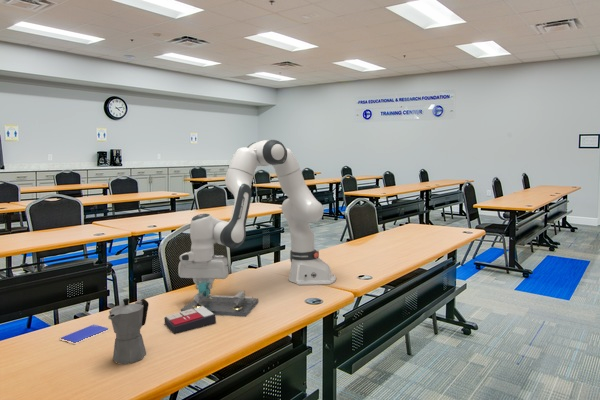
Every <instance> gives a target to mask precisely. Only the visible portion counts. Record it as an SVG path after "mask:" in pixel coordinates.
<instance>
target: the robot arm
mask: <svg viewBox="0 0 600 400" xmlns="http://www.w3.org/2000/svg"><path fill="white" fill-rule="evenodd" d="M268 166H272V167H273V169H274V172H275V174H276V177H277V179H278V180H277V181H278V183H279V185H280V188H281V191H282V192H283V194H284V195H286V196H287V198H286V199H284V200H283V202H282V204H281V213H282V214H283V216H284V217H285V219H286V222H287V226H288V231H289V234H290V250H289V251H290V252H289V261H290V269H289V270H290V271H289V275H288V281H290V282H291V283H295V284H296V285H298V286H299V285H300V286H304V285H305V286H309V285H315V286H316V285H331V284H334V283H335V282H336V279H337V277H336V275H335V274H334V273H332V270H331V267H330V264H328V263H327V262H326V261H324V260H323V259H321V258H320V252H319V250H316V249H315V233H314V231H313V229H311V226H310V223H316V222H319V221H321V220H322V218H323V215H324V207H323V204H322V203H321V202H320V201H318V199H316V197H315V196H314V195H313V193H312V192H311V190H310V188H309V187H308V185H307V184H306V181H305V178H304V175H303V173H302V171H301V167H300V166H299V162H298V160H297V158H296V157H295V154H294V153H293V151H292V149H290V148H288V147H286V146H285V145H284V144H283V143H282V142H281V141H280V140H276V139H264V140H260V141H256V142H252V143H250V144H249V145H248V146H247V147H245V146H243V147H239V148H238V149H237V150H236V151H235V152H234V154H233V156H232V158H231V161H230V162H229V165H228V168H227V170H226V173H225V178H224V183H225V187H226V188H227V189H228V191H229V192H230V193H232V195H233V198H234V204H233V207H232V208H233V209H232V212H231V216H230V219H229V220H228V221H226V220H222V219H220V218H216V217H214V216H212V215H211V214H210V213H200V214H197V215H195V216H193V217H191V220H190V224H189V225H190V226H189V227H190V229H189V231H190V232H189V233H190V235H189V236H190V241H191V246H190V250H189V251H187V252H184V253H182V254H181V255H179V260H180V261H179V263H178V267H177V268H178V269H177V271H178V277H180V278H181V279H192V280H193V281H192V282H193V283H194V285H195V289H197V290H198V284H199V282H198V279H199V278H203V279H209V281H211V282H210V284H208V285H207V289H210V290H212V289H213V283H214V281H216V280H225V279H227V278H228V276H229V267H228V262H229V259H228V258H227V257H226V256H224V255H223V254H221V255H218V254H215V252H214V251H215V249H214V248H215V247H214V246H215V244H219V245H221V246H225V247H227V248H229V249H236V248H239V247H240V246H241V245H242V244H243V243H244V242H245V239H246V236H247V235H246V234H247V233H246V232H247V231H246V230H247V228H246V226H247V221H248V215H249V211H250V206H251V201H252V200H251V199H252V195H253V194H252V182H253V178H254V175H255V173H256V169H257V168H258V167H268Z"/></svg>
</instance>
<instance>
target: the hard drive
mask: <svg viewBox="0 0 600 400" xmlns="http://www.w3.org/2000/svg"><path fill="white" fill-rule="evenodd" d="M108 329H109V327H105V326H102V325H98V324H92V325H89V326H87V327H84V328H82V329H79V330H77V331H74V332H71V333H69V334H66V335H64V336H62V337H60V338H61V339H64V340H67V341H71V342H73V343H76V342H79V341H81V340H83V339H85V338H88V337H91V336H93V335H96V334H99V333H101V332H103V331H106V330H108Z"/></svg>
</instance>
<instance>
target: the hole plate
mask: <svg viewBox="0 0 600 400" xmlns="http://www.w3.org/2000/svg"><path fill="white" fill-rule="evenodd" d="M245 293H246V291H243V290H242V291H241V290H239V291H238V292H237V293H236V294H235V295H219V294H218V295H215V294H209V295H208V296H207V297H203V298H202V299H201V300H199V305H197V301H195V295H194V296H193V298H194V299H193V300H191V301H190V302H189V303H187V304H185V305H184V306H183V307H182V308H180V312H182V311H185V310H189V309H194V308H198V307H201V306H203V307H205V308H207V309H208V310H209V311H211V312H212V313H214V314H215V316H223V317H224V316H227V317H242V318H243V317H244V318H245V317H247V316H248V315H249V314H250V313H251V312H252V310H253V309H255V307H256V306H257V305H258V303H259V301H260V300H259V298H254V296H246V294H245Z"/></svg>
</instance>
